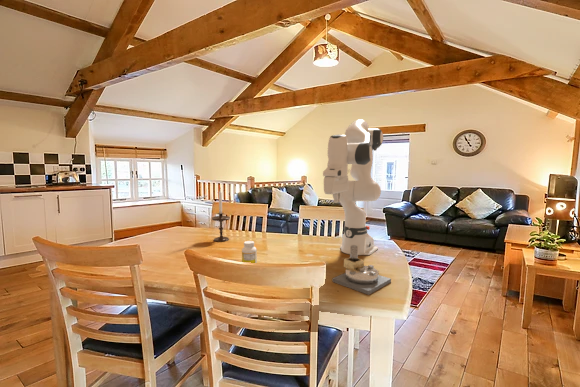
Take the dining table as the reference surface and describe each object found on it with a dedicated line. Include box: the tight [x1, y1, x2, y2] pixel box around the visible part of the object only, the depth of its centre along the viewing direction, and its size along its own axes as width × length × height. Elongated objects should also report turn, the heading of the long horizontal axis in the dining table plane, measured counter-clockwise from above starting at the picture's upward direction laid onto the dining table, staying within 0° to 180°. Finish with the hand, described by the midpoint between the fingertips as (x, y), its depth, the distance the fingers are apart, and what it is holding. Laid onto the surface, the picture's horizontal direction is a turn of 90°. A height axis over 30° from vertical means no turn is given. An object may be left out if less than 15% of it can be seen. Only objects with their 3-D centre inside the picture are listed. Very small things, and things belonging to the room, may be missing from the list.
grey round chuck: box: [343, 257, 379, 284], centre depth 124 cm, size 14×13×6 cm
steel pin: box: [349, 245, 359, 262], centre depth 127 cm, size 3×3×9 cm
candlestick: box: [211, 185, 231, 243], centre depth 188 cm, size 11×11×35 cm
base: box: [331, 272, 392, 296], centre depth 124 cm, size 17×17×4 cm
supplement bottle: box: [241, 240, 258, 264], centre depth 138 cm, size 7×7×13 cm
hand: (336, 202), depth 134 cm, fingers closed
